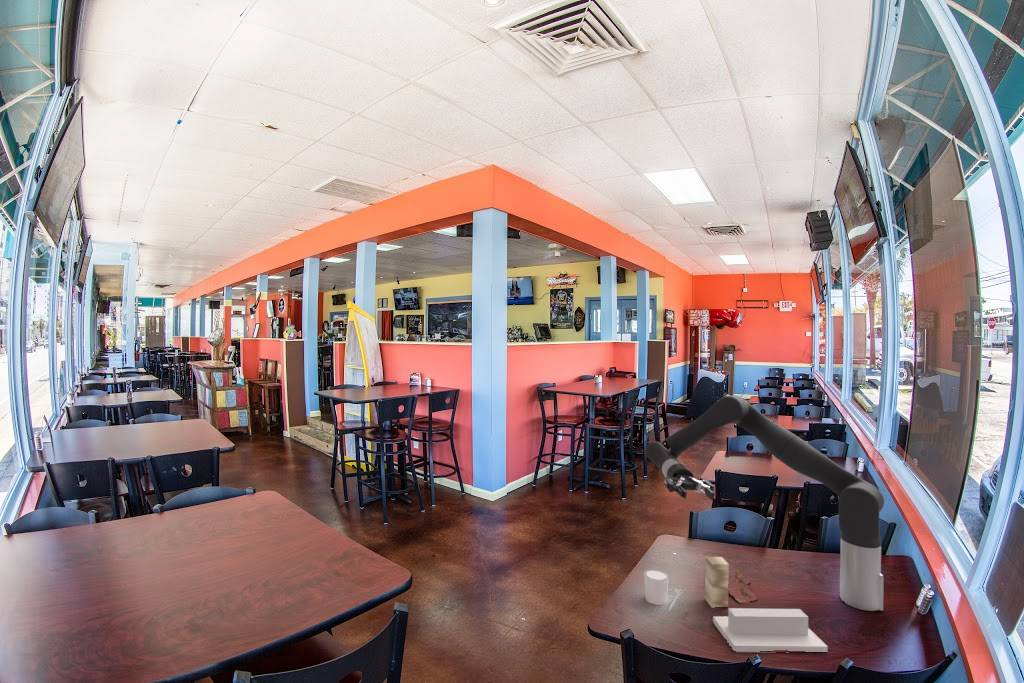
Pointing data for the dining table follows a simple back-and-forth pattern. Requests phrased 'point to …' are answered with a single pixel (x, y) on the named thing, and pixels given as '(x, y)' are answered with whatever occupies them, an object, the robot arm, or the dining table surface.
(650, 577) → the white cylinder
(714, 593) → the maple block
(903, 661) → the dining table surface
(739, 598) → the wooden fragment
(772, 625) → the ridge stand
